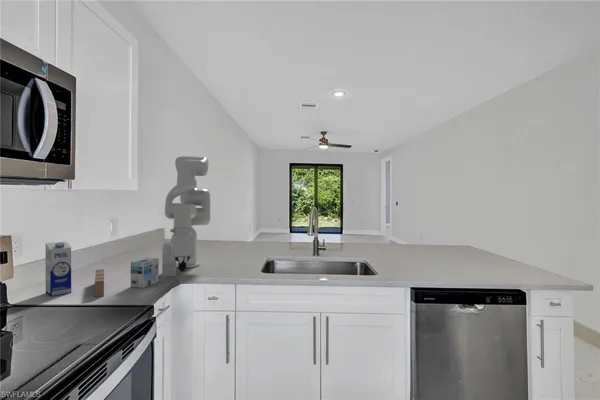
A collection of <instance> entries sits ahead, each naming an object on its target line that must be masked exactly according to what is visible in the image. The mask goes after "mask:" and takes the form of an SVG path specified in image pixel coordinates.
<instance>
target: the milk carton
mask: <svg viewBox="0 0 600 400" xmlns="http://www.w3.org/2000/svg"><path fill="white" fill-rule="evenodd" d="M45 293H46V295H47V296H50V297H56V296H61V295H65V294H67V295H68V294H71V293H72V246H71V245H70V244H69V243H68V242H67V241H65V240H64V241H56V242H54V241H53V242H45Z"/></svg>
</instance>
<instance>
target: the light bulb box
mask: <svg viewBox="0 0 600 400" xmlns="http://www.w3.org/2000/svg"><path fill="white" fill-rule="evenodd" d="M159 263H160V259H159V258H158V257H157V258H156V257H147V256H146V257H142V258H139V259H136V260H133V261H130V287H131V288H142V289H144V288H146V287H149V286H151V285H154V284H157V283H159V280H160V279H159V276H160V274H159V273H160V272H159V271H160V269H159V268H160V267H159V266H160V264H159Z"/></svg>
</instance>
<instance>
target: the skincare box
mask: <svg viewBox="0 0 600 400" xmlns="http://www.w3.org/2000/svg"><path fill="white" fill-rule="evenodd" d="M170 247H171V241H168V242H167V241H164V242H163V243H162V250H161V251H162V252H161V254H162V255H161V257H162V258H161V262H162V264H161V271H162V272H161V278H173V277H175V278H176V277H177V267H176V264H177V263H178V261H176V260H173V259H170V255H171V254H170Z"/></svg>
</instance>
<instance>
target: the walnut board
mask: <svg viewBox="0 0 600 400" xmlns="http://www.w3.org/2000/svg"><path fill="white" fill-rule="evenodd" d="M104 296H105V269H95V276H94V298H101V297H104Z"/></svg>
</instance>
